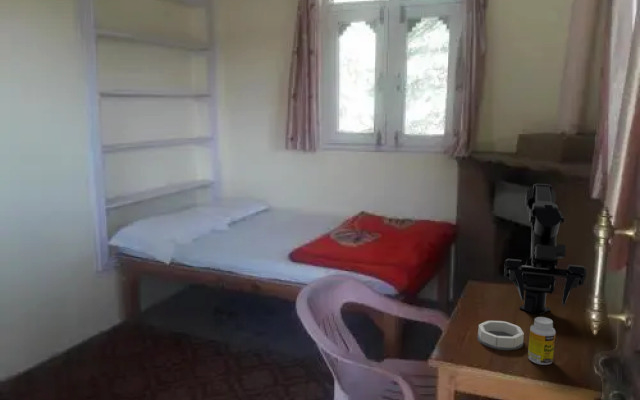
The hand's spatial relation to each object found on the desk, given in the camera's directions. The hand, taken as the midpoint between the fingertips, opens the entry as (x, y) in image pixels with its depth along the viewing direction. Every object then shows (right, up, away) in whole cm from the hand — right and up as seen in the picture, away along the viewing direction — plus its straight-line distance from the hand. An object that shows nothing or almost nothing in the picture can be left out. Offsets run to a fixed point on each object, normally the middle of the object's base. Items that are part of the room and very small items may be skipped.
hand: (542, 302), depth 130 cm
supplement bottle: (-2, -13, -3) cm, 14 cm away
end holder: (-8, -11, +7) cm, 16 cm away
